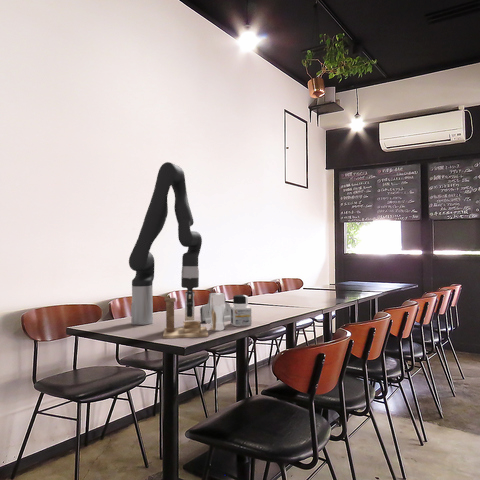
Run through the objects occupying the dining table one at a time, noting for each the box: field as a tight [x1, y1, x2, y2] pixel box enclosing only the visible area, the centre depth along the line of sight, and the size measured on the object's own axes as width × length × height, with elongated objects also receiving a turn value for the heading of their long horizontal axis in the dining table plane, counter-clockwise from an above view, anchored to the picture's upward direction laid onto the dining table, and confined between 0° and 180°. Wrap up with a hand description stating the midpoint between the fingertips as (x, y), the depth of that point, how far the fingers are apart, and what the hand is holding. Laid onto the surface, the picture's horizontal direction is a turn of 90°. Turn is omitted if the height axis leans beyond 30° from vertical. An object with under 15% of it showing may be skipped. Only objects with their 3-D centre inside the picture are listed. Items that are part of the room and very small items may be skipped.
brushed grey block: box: [184, 300, 195, 322], centre depth 181 cm, size 4×4×8 cm
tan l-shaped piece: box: [162, 297, 209, 339], centre depth 165 cm, size 17×16×14 cm
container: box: [230, 294, 252, 327], centre depth 184 cm, size 8×8×13 cm
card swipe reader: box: [199, 302, 231, 325], centre depth 195 cm, size 17×5×10 cm, turn 125°
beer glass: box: [208, 292, 227, 332], centre depth 172 cm, size 7×7×15 cm
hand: (189, 315), depth 181 cm, fingers closed on brushed grey block, 4 cm apart
